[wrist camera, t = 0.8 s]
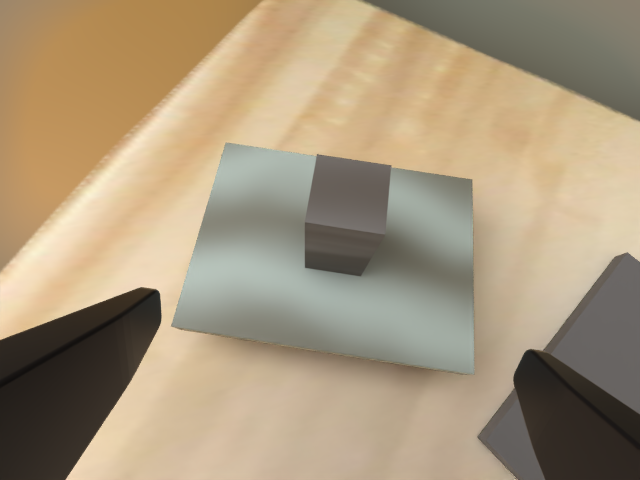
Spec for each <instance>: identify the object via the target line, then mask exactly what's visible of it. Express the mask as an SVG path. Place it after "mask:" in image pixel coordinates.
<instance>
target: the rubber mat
mask: <svg viewBox="0 0 640 480" xmlns="http://www.w3.org/2000/svg"><path fill="white" fill-rule="evenodd" d="M544 351H545V352H548V353H550V354H551V355H553V356H554V357H556V358H557V359H559V360H560V361H562V362H563V363H565V364H566V365H568V366H569V367H571V368H572V369H573V370H575V371H576V372H578V373H579V374H581V375H582V376H584V377H585V378H587V379H588V380H590V381H591V382H593V383H594V384H596V385H597V386H599V387H600V388H602V389H603V390H605V391H606V392H608V393H609V394H611V395H612V396H614V397H615V398H617V399H618V400H620V401H621V402H623V403H624V404H626V405H627V406H629V407H630V408H632V409H633V410H635V411H636V412H638V413H639V414H640V262H639V261H638V260H636V259H635V258H634V257H633V256H631V255H630V254H629V253H624V254H622V255H619V256H616V257H615V258H614V259H613V260H612V262H611V263H610V264H609V265H608V267H607V268H606V269H605V271H604V272H603V273H602V275H601V276H600V277H599V279H598V280H597V281H596V282H595V284H594V285H593V286H592V288H591V289H590V290H589V292H588V293H587V294H586V296H585V297H584V298H583V300H582V301H581V302H580V303H579V305H578V306H577V307H576V309H575V310H574V311H573V313H572V314H571V315H570V317H569V318H568V319H567V320H566V322H565V323H564V324H563V326H562V327H561V328H560V330H559V331H558V332H557V334H556V335H555V336H554V338H553V339H552V340H551V341H550V343H549V344H548V345H547V347H546V348H545V349H544ZM478 438H479V439H480V440H481V441H482V442H483V443H484V444H485V446H486V447H487V448H488V449H489V450H490V451H491V452H492V453H493V454H494V455H495V456H496V457H497V458H498V459H499V460H500V461H501V462H502V463H503V464H504V465H505V466H506V467H507V468H508V469H509V470H510V471H511V472H512V473H513V474H514V476H515V477H516V478H517V479H518V480H545V479H544V476H543V474H542V471H541V469H540V466H539V464H538V461H537V458H536V456H535V453H534V450H533V448H532V444H531V441H530V438H529V435H528V432H527V428H526V425H525V421H524V418H523V414H522V411H521V407H520V404H519V400H518V397H517V394H516V390H515V389H514V390H513V391H512V393H511V394H510V395H509V396H508V398H507V399H506V400H505V402H504V403H503V404H502V406H501V407H500V408H499V410H498V411H497V412H496V413H495V415H494V416H493V417H492V419H491V420H490V421H489V423H488V424H487V425H486V427H485V428H484V429H483V430H482V432H481V433H480V434H479V436H478Z"/></svg>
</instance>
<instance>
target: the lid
mask: <svg viewBox="0 0 640 480" xmlns="http://www.w3.org/2000/svg"><path fill="white" fill-rule="evenodd" d="M171 326H172V327H175V328H178V329H181V330H186V331H192V332H199V333H205V334H211V335H218V336H224V337H230V338H236V339H243V340H249V341H255V342H262V343H268V344H274V345H280V346H287V347H293V348H299V349H306V350H312V351H318V352H324V353H331V354H337V355H343V356H349V357H356V358H362V359H368V360H375V361H381V362H387V363H393V364H400V365H406V366H412V367H419V368H425V369H431V370H437V371H444V372H450V373H456V374H472V375H474V296H473V200H472V180H471V179H465V178H458V177H451V176H445V175H438V174H431V173H425V172H418V171H411V170H405V169H398V168H392V167H391V165H384V164H378V163H371V162H364V161H358V160H351V159H344V158H338V157H331V156H324V155H318V154H317V156H312V155H305V154H299V153H292V152H285V151H279V150H272V149H265V148H259V147H252V146H245V145H239V144H232V143H226V144H225V147H224V150H223V154H222V157H221V160H220V164H219V167H218V170H217V174H216V177H215V181H214V184H213V187H212V191H211V194H210V197H209V201H208V204H207V207H206V211H205V214H204V218H203V221H202V224H201V228H200V231H199V234H198V238H197V241H196V244H195V248H194V251H193V254H192V258H191V261H190V265H189V268H188V271H187V275H186V278H185V281H184V285H183V288H182V291H181V295H180V298H179V302H178V305H177V308H176V312H175V315H174V318H173V322H172V325H171Z"/></svg>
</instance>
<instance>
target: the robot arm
mask: <svg viewBox="0 0 640 480" xmlns="http://www.w3.org/2000/svg"><path fill="white" fill-rule="evenodd" d="M160 324H161V300H160V293H159V291H158V290H156V289H151V288H145V287H140V288H137V289H135V290H132V291H130V292H127V293H124V294H122V295H119V296H116V297H114V298H111V299H108V300H106V301H103V302H100V303H98V304H95V305H92V306H90V307H87V308H84V309H82V310H79V311H76V312H74V313H71V314H68V315H66V316H63V317H60V318H58V319H55V320H52V321H50V322H47V323H44V324H42V325H39V326H36V327H34V328H31V329H28V330H26V331H23V332H20V333H18V334H15V335H12V336H10V337H7V338H4V339H2V340H0V480H66V478H67V477H68V475H69V474H70V472H71V471H72V469H73V468H74V466H75V465H76V463H77V462H78V460H79V459H80V457H81V456H82V454H83V453H84V451H85V450H86V448H87V447H88V445H89V444H90V442H91V441H92V439H93V438H94V436H95V435H96V433H97V432H98V430H99V429H100V427H101V426H102V424H103V423H104V421H105V420H106V418H107V417H108V415H109V414H110V412H111V411H112V409H113V408H114V406H115V405H116V403H117V402H118V400H119V398H120V397H121V395H122V394H123V392H124V391H125V389H126V388H127V386H128V385H129V383H130V381H131V380H132V378H133V376H134V374H135V372H136V371H137V369H138V367H139V365H140V363H141V361H142V359H143V357H144V355H145V353H146V351H147V350H148V348H149V346H150V344H151V342H152V340H153V338H154V336H155V334H156V332H157V330H158V328H159V326H160ZM513 381H514V387H515V390H516V394H517V397H518V400H519V404H520V407H521V411H522V414H523V418H524V421H525V425H526V428H527V432H528V435H529V438H530V441H531V444H532V448H533V450H534V453H535V456H536V458H537V461H538V464H539V466H540V469H541V471H542V474H543V476H544V479H545V480H640V414H639V413H638V412H636V411H635V410H633V409H632V408H630V407H629V406H627V405H626V404H624V403H623V402H621V401H620V400H618V399H617V398H615V397H614V396H612V395H611V394H609V393H608V392H606V391H605V390H603V389H602V388H600V387H599V386H597V385H596V384H594V383H593V382H591V381H590V380H588V379H587V378H585V377H584V376H582V375H581V374H579V373H578V372H576V371H575V370H573V369H572V368H571V367H569V366H568V365H566V364H565V363H563V362H562V361H560V360H559V359H557V358H556V357H554V356H553V355H551V354H550V353H548V352H545V351H540V350H533V349H529V350H527V351H526V352H525V353H524V355H523V357H522V359H521V361H520V363H519V365H518V367H517V369H516V371H515V374H514V379H513Z"/></svg>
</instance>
